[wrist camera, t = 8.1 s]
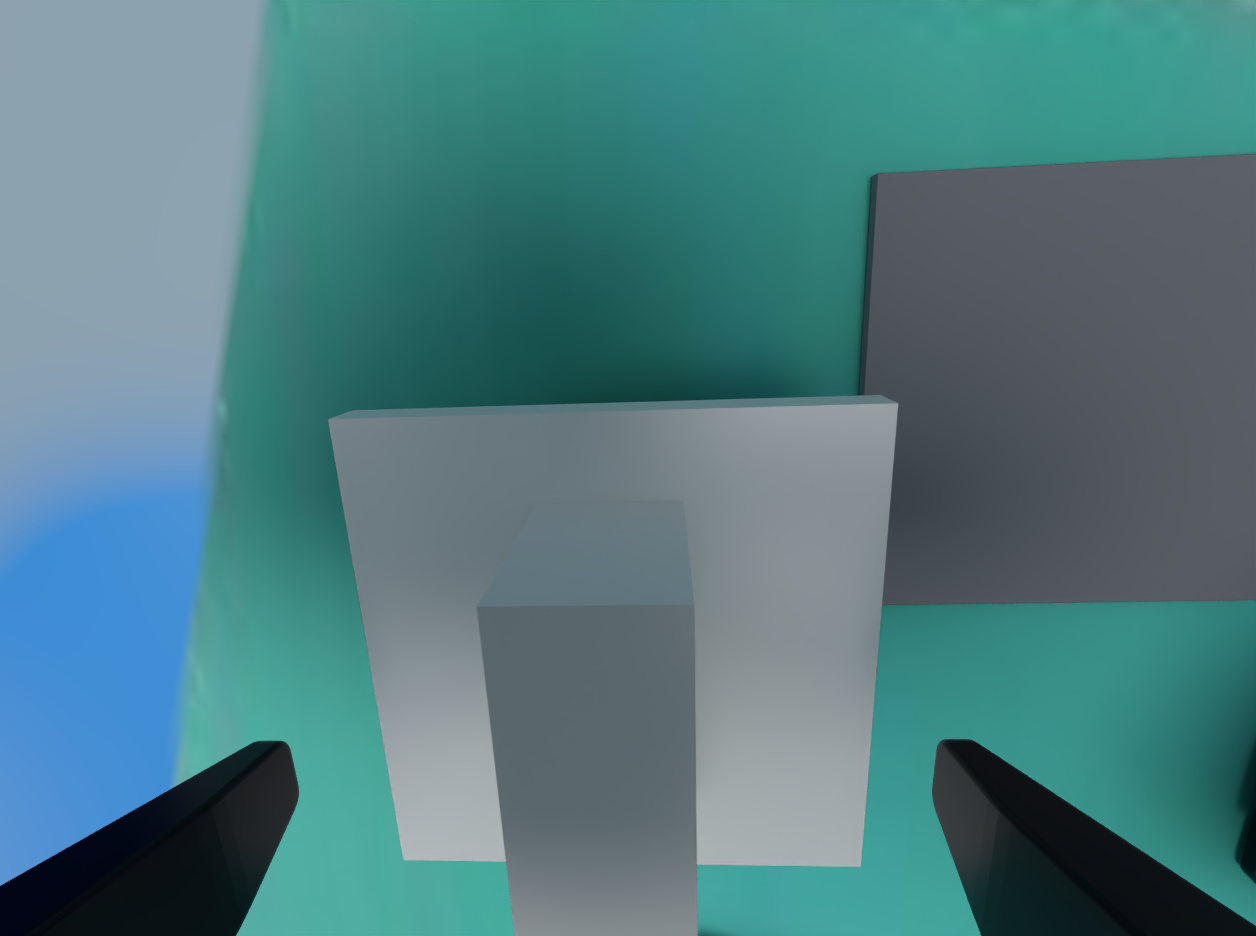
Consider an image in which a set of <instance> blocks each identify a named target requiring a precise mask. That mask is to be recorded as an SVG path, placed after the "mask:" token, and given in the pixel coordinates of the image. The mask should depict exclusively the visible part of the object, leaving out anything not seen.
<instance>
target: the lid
mask: <svg viewBox="0 0 1256 936" xmlns="http://www.w3.org/2000/svg"><path fill="white" fill-rule="evenodd" d="M897 412H898V403H897V402H895V401H892V400H890V399H888V398H886V397H884V396H882V395H861V396H826V397H792V398H758V399H723V400H689V401H654V402H620V403H585V404H551V405H517V406H482V407H448V408H413V409H379V410H351V411H348V412H346V413H343V414H341V415H338V416H335V417H333V418H330V419H328V423H329V429H330V434H331V440H332V446H333V452H334V458H335V464H336V469H337V475H338V481H339V487H340V493H341V499H342V504H343V510H344V516H345V522H346V528H347V533H348V539H349V545H350V551H351V557H352V563H353V568H354V574H355V580H356V586H357V592H358V598H359V603H360V609H361V615H362V621H363V627H364V633H365V638H366V644H367V650H368V656H369V662H370V667H371V673H372V679H373V685H374V691H375V697H376V702H377V708H378V714H379V720H380V726H381V732H382V737H383V743H384V749H385V755H386V761H387V766H388V772H389V778H390V784H391V790H392V796H393V801H394V807H395V813H396V819H397V825H398V831H399V836H400V842H401V848H402V854H403V860H437V861H503V862H506V866H507V874H508V883H509V892H510V900H511V909H512V918H513V926H514V935H515V936H698V915H697V864H704V865H770V866H837V867H861V858H862V846H863V833H864V821H865V808H866V796H867V784H868V771H869V759H870V747H871V734H872V722H873V709H874V697H875V685H876V672H877V660H878V647H879V635H880V623H881V610H882V598H883V586H884V573H885V561H886V548H887V536H888V524H889V511H890V499H891V486H892V474H893V462H894V449H895V437H896V425H897Z"/></svg>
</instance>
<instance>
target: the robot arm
mask: <svg viewBox="0 0 1256 936" xmlns="http://www.w3.org/2000/svg"><path fill="white" fill-rule="evenodd" d="M298 797H299V786H298V781H297V777H296V772H295V768H294V763H293V759H292V754H291V750H290V747H289V746H288V744H287V743H286V742H283V741H256V742H253V743H251V744H250V745H248V746H246V747H244V748H242V749H241V750H239V751H237V752H235V753H234V754H232V755H230V756H228V757H227V758H225V759H223V760H221V761H220V762H218V763H216V764H214V765H213V766H211V767H209V768H207V769H205V770H204V771H202V772H200V773H198V774H197V775H195V776H193V777H191V778H190V779H188V780H186V781H184V782H183V783H181V784H179V785H177V786H176V787H174V788H172V789H170V790H168V791H167V792H165V793H163V794H161V795H160V796H158V797H156V798H154V799H153V800H151V801H149V802H147V803H146V804H144V805H142V806H140V807H139V808H137V809H135V810H133V811H132V812H130V813H128V814H126V815H124V816H123V817H121V818H119V819H117V820H116V821H114V822H112V823H110V824H109V825H107V826H105V827H103V828H101V829H100V830H98V831H96V832H94V833H93V834H91V835H89V836H88V837H86V838H84V839H82V840H80V841H79V842H77V843H75V844H73V845H72V846H70V847H68V848H66V849H64V850H63V851H61V852H59V853H58V854H56V855H54V856H52V857H50V858H49V859H47V860H45V861H43V862H42V863H40V864H38V865H36V866H35V867H33V868H31V869H29V870H27V871H26V872H24V873H22V874H20V875H19V876H17V877H15V878H14V879H12V880H10V881H8V882H6V883H5V884H3V885H1V886H0V936H236V935H237V933H238V931H239V929H240V927H241V925H242V923H243V921H244V919H245V917H246V915H247V913H248V911H249V909H250V907H251V905H252V903H253V901H254V899H255V896H256V894H257V892H258V890H259V888H260V885H261V883H262V881H263V879H264V876H265V874H266V872H267V870H268V868H269V865H270V863H271V861H272V859H273V857H274V854H275V852H276V850H277V848H278V846H279V843H280V841H281V839H282V837H283V835H284V832H285V830H286V828H287V826H288V824H289V821H290V819H291V817H292V815H293V813H294V810H295V808H296V805H297V802H298ZM932 797H933V803H934V807H935V810H936V813H937V816H938V819H939V822H940V824H941V827H942V830H943V833H944V835H945V838H946V841H947V844H948V846H949V849H950V852H951V855H952V857H953V860H954V863H955V866H956V869H957V871H958V874H959V877H960V880H961V882H962V885H963V888H964V891H965V893H966V896H967V899H968V902H969V904H970V907H971V910H972V913H973V915H974V918H975V920H976V923H977V926H978V928H979V931H980V933H981V936H1256V926H1255V925H1253V924H1252V923H1250V922H1249V921H1247V920H1246V919H1244V918H1243V917H1241V916H1240V915H1238V914H1237V913H1235V912H1234V911H1232V910H1231V909H1229V908H1228V907H1226V906H1225V905H1223V904H1222V903H1220V902H1218V901H1217V900H1215V899H1214V898H1212V897H1211V896H1209V895H1208V894H1206V893H1205V892H1203V891H1202V890H1200V889H1199V888H1197V887H1196V886H1194V885H1193V884H1191V883H1190V882H1188V881H1187V880H1185V879H1184V878H1182V877H1180V876H1179V875H1177V874H1176V873H1174V872H1173V871H1171V870H1170V869H1168V868H1167V867H1165V866H1164V865H1162V864H1161V863H1159V862H1158V861H1156V860H1155V859H1153V858H1152V857H1150V856H1149V855H1147V854H1146V853H1144V852H1143V851H1141V850H1139V849H1138V848H1136V847H1135V846H1133V845H1132V844H1130V843H1129V842H1127V841H1126V840H1124V839H1123V838H1121V837H1120V836H1118V835H1117V834H1115V833H1114V832H1112V831H1111V830H1109V829H1108V828H1106V827H1105V826H1103V825H1102V824H1100V823H1098V822H1097V821H1095V820H1094V819H1092V818H1091V817H1089V816H1088V815H1086V814H1085V813H1083V812H1082V811H1080V810H1079V809H1077V808H1076V807H1074V806H1073V805H1071V804H1070V803H1068V802H1067V801H1065V800H1064V799H1062V798H1061V797H1059V796H1057V795H1056V794H1054V793H1053V792H1051V791H1050V790H1048V789H1047V788H1045V787H1044V786H1042V785H1041V784H1039V783H1038V782H1036V781H1035V780H1033V779H1032V778H1030V777H1029V776H1027V775H1026V774H1024V773H1023V772H1021V771H1019V770H1018V769H1016V768H1015V767H1013V766H1012V765H1010V764H1009V763H1007V762H1006V761H1004V760H1003V759H1001V758H1000V757H998V756H997V755H995V754H994V753H992V752H991V751H989V750H988V749H986V748H985V747H983V746H982V745H980V744H978V743H977V742H975V741H973V740H969V739H945V740H942V741H940V742H939V744H938V746H937V750H936V759H935V768H934V777H933V786H932ZM1241 869H1242V870H1243V872H1244V873H1245V874H1246V875H1247V876H1248V877H1249V878H1250V879H1251V880H1252V881H1253V882H1254V883H1255V884H1256V811H1255V814H1254V818H1253V821H1252V825H1251V828H1250V832H1249V835H1248V839H1247V842H1246V846H1245V849H1244V853H1243V856H1242V860H1241Z"/></svg>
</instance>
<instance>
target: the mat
mask: <svg viewBox="0 0 1256 936" xmlns="http://www.w3.org/2000/svg"><path fill="white" fill-rule="evenodd" d="M861 395H882V396H884V397H886V398H888V399H890V400H892V401H895V402H897V403H898V412H897V425H896V437H895V449H894V462H893V474H892V486H891V499H890V511H889V524H888V536H887V548H886V561H885V573H884V586H883V598H882V605H929V604H1005V603H1082V602H1158V601H1234V600H1256V154H1245V155H1226V156H1207V157H1188V158H1168V159H1149V160H1130V161H1111V162H1092V163H1073V164H1054V165H1034V166H1015V167H996V168H977V169H958V170H939V171H920V172H900V173H881V174H877V175H875V176H873V177H872V183H871V200H870V216H869V233H868V250H867V267H866V283H865V300H864V317H863V334H862V350H861V367H860V384H859V396H861Z"/></svg>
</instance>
